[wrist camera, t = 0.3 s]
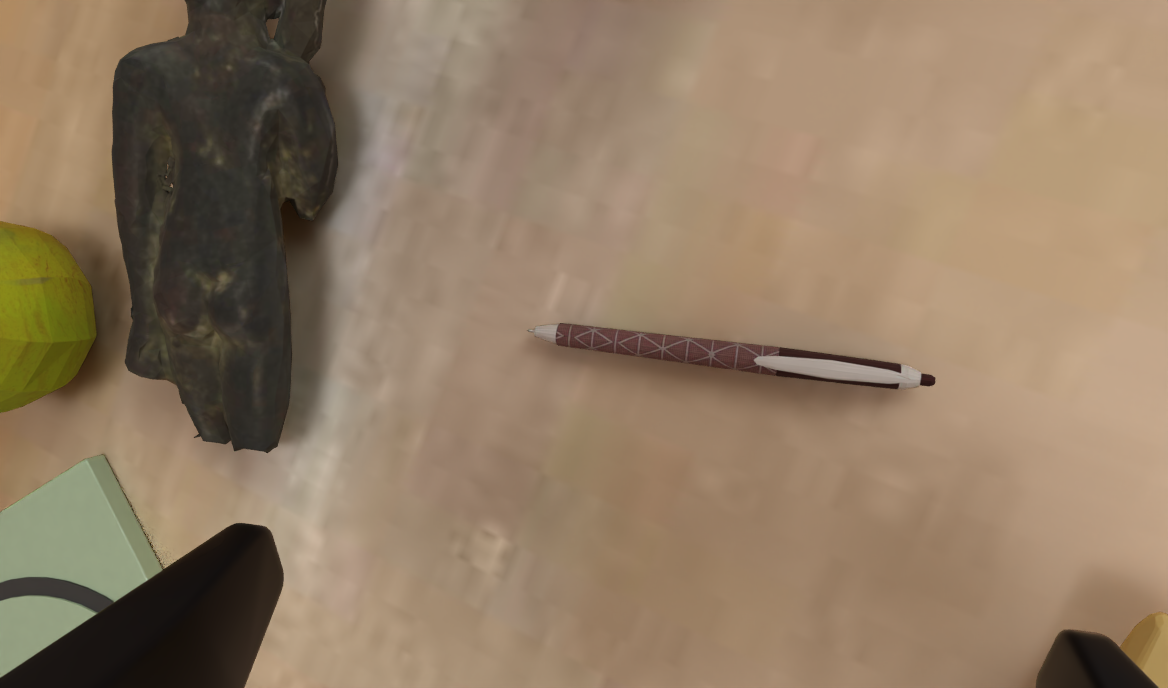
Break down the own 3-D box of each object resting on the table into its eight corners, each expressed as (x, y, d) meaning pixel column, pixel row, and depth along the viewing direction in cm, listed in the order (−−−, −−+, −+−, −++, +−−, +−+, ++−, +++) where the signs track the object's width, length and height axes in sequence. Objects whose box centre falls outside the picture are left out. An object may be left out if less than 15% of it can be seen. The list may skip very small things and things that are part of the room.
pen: (933, 365, 22) (941, 368, 21) (929, 394, 22) (937, 398, 21) (531, 316, 24) (522, 317, 23) (529, 342, 24) (519, 345, 23)
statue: (361, 422, 28) (369, -236, 23) (297, 491, 23) (287, -340, 18) (187, 403, 29) (153, -251, 23) (85, 467, 23) (8, -359, 18)
